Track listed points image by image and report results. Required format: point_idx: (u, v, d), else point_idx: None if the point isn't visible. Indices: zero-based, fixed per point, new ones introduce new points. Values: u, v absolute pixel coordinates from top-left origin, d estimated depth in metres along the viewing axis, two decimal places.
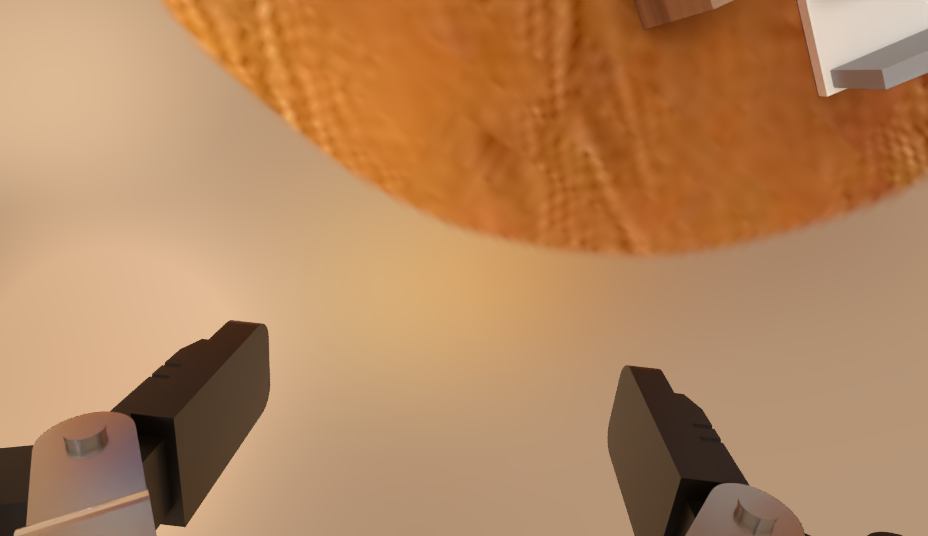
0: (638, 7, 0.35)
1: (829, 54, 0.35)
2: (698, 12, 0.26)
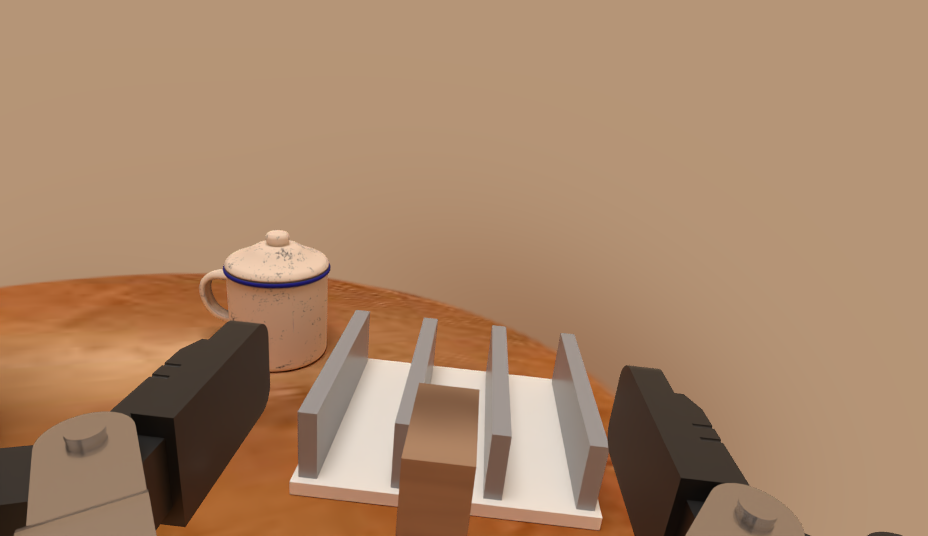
0: None
1: (560, 505, 0.34)
2: (470, 502, 0.22)
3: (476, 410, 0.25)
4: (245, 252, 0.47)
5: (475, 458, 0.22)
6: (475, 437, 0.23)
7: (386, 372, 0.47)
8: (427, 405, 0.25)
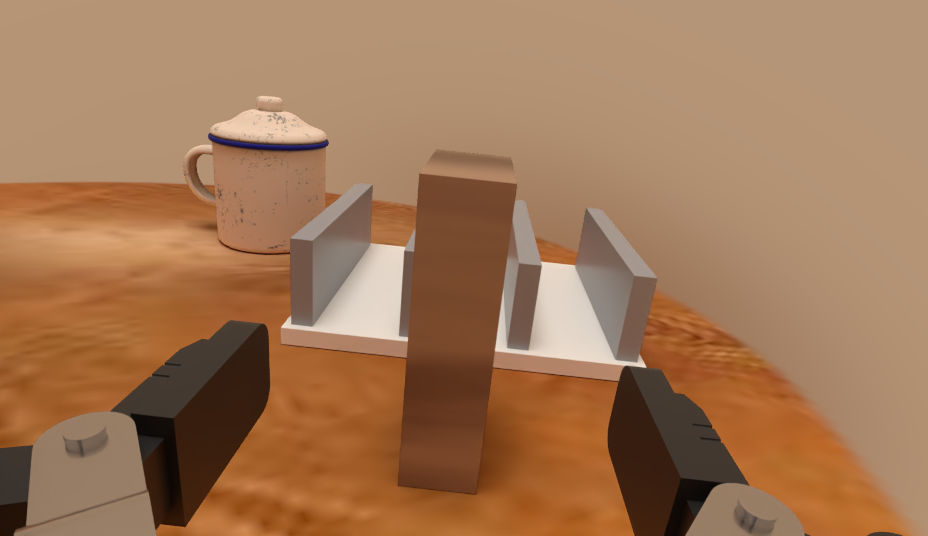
0: (439, 481, 0.20)
1: (597, 356, 0.30)
2: (507, 239, 0.17)
3: (509, 163, 0.20)
4: (233, 118, 0.42)
5: (514, 180, 0.17)
6: (512, 173, 0.18)
7: (391, 253, 0.42)
8: (449, 157, 0.20)
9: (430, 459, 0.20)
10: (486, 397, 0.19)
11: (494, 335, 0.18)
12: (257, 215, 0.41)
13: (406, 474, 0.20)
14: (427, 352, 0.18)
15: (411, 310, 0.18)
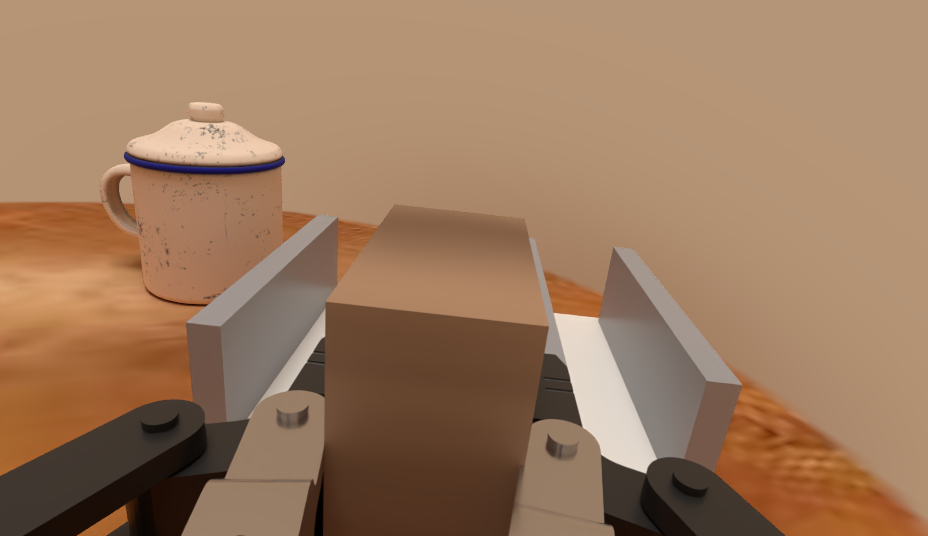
0: None
1: None
2: (525, 437, 0.08)
3: (524, 240, 0.11)
4: (158, 131, 0.32)
5: (541, 310, 0.08)
6: (532, 276, 0.09)
7: None
8: (411, 229, 0.11)
9: None
10: None
11: None
12: (187, 257, 0.32)
13: None
14: None
15: None
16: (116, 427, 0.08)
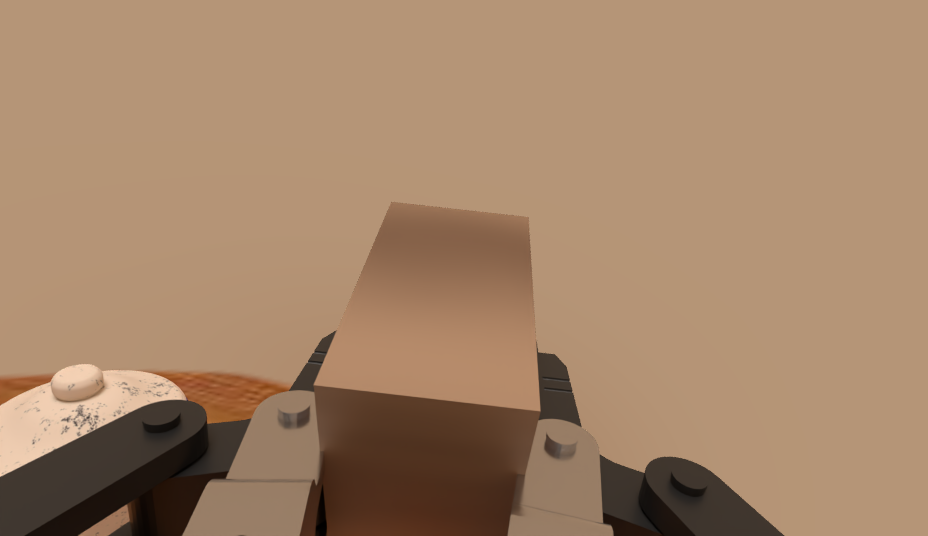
0: None
1: None
2: None
3: (525, 258, 0.10)
4: (12, 412, 0.25)
5: (534, 383, 0.07)
6: (529, 323, 0.09)
7: None
8: (407, 247, 0.10)
9: None
10: None
11: None
12: None
13: None
14: None
15: None
16: (117, 427, 0.08)
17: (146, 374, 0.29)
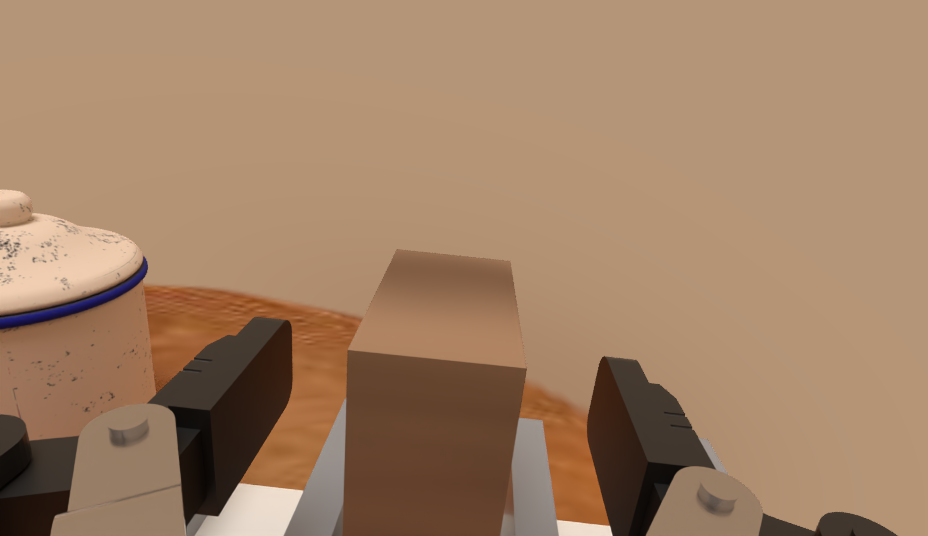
0: None
1: None
2: (509, 456, 0.10)
3: (509, 284, 0.12)
4: None
5: (521, 353, 0.09)
6: (515, 321, 0.11)
7: (257, 527, 0.20)
8: (413, 276, 0.12)
9: None
10: None
11: None
12: None
13: None
14: None
15: None
16: None
17: (95, 228, 0.24)
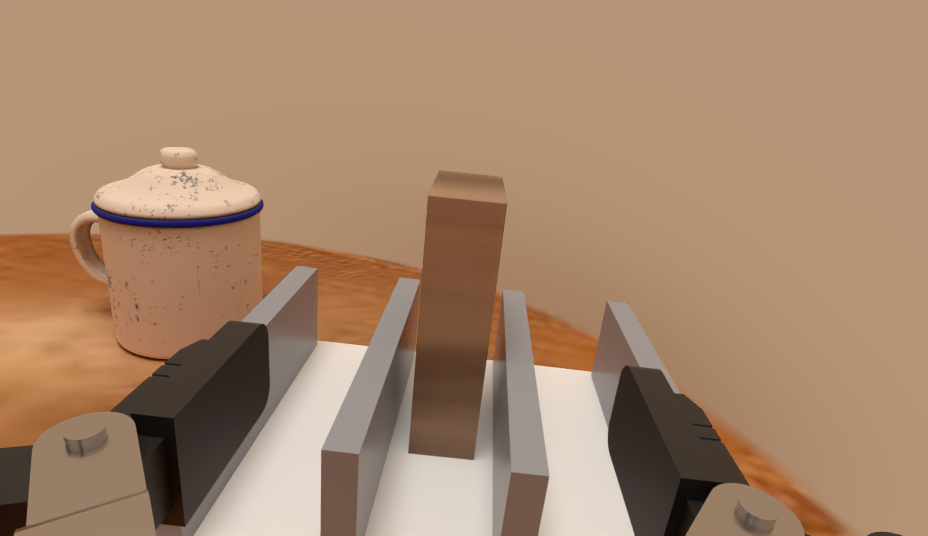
0: (443, 449, 0.24)
1: None
2: (499, 248, 0.21)
3: (501, 183, 0.24)
4: (128, 178, 0.31)
5: (505, 201, 0.21)
6: (503, 193, 0.22)
7: (343, 360, 0.31)
8: (450, 179, 0.24)
9: (435, 431, 0.24)
10: (482, 378, 0.23)
11: (489, 326, 0.22)
12: (158, 313, 0.30)
13: (415, 443, 0.24)
14: (433, 340, 0.22)
15: (420, 306, 0.22)
16: None
17: None
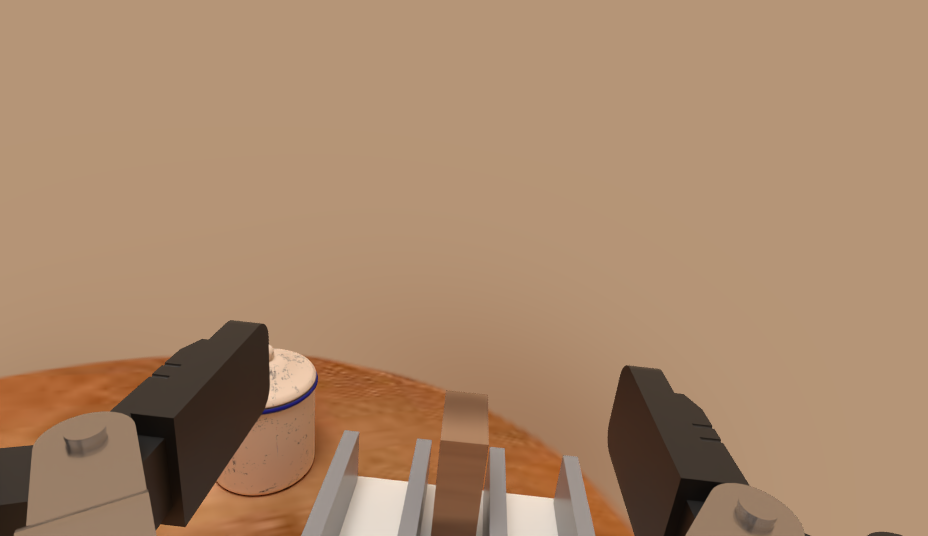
0: None
1: None
2: (484, 468, 0.34)
3: (486, 408, 0.37)
4: None
5: (487, 439, 0.34)
6: (486, 426, 0.35)
7: (377, 496, 0.44)
8: (453, 406, 0.37)
9: None
10: None
11: (478, 509, 0.35)
12: (248, 467, 0.43)
13: None
14: (443, 517, 0.35)
15: (435, 498, 0.35)
16: None
17: (286, 350, 0.48)
